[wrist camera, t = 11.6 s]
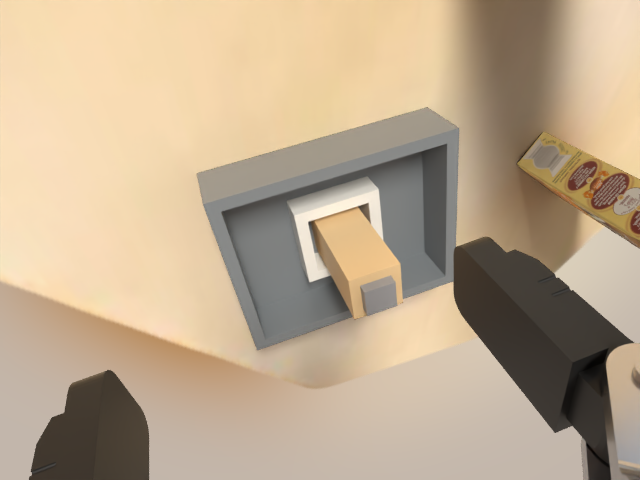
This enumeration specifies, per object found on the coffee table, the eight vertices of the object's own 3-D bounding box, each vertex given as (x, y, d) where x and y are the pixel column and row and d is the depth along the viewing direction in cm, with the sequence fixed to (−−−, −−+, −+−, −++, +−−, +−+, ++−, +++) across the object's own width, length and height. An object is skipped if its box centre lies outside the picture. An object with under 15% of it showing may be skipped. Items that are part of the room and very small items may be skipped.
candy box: (513, 164, 46) (646, 251, 34) (543, 127, 44) (693, 204, 32) (559, 197, 50) (690, 284, 38) (587, 165, 49) (732, 244, 37)
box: (427, 107, 39) (459, 128, 35) (429, 251, 49) (454, 280, 45) (196, 173, 36) (202, 204, 32) (247, 313, 46) (257, 350, 42)
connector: (351, 197, 41) (405, 270, 32) (355, 233, 43) (407, 309, 35) (308, 211, 40) (352, 288, 32) (315, 246, 43) (358, 327, 34)
